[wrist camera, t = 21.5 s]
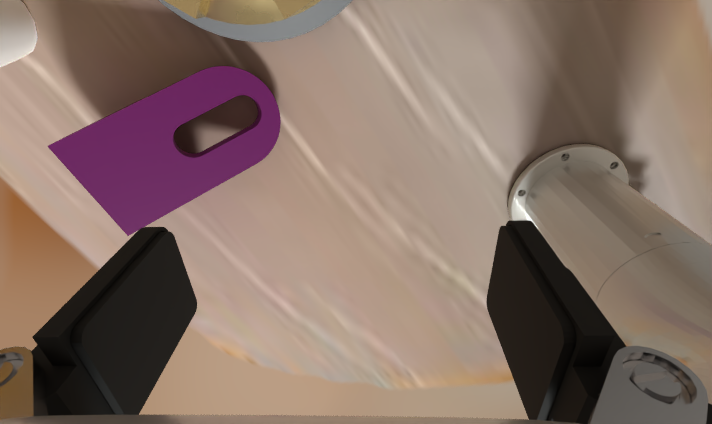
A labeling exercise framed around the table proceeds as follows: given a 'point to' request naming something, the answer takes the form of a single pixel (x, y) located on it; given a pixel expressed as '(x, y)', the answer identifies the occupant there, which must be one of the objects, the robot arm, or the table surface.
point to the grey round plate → (275, 31)
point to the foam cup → (15, 31)
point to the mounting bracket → (167, 147)
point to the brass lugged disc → (243, 9)
